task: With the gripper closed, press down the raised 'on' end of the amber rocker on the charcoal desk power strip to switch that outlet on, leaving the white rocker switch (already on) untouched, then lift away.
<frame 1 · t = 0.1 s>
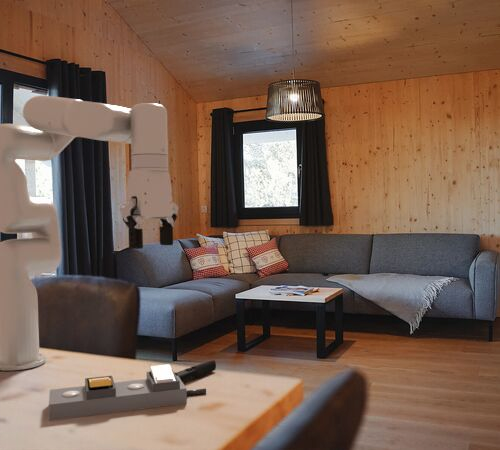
hand: (151, 246, 118), 31 cm above the table, tool pointing down, fingers open, 9 cm apart
electric trimmer: (190, 381, 129), on the table
amber rocker: (99, 381, 112), point 5 cm above the table, hinge at -12.0°
white rocker switch: (162, 374, 116), point 5 cm above the table, hinge at 12.0°
power strip: (118, 403, 113), on the table
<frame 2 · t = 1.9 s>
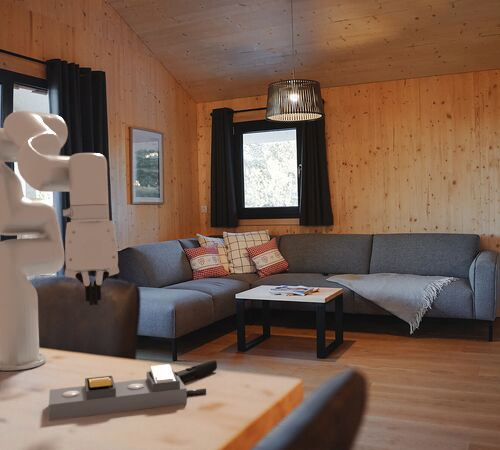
hand: (93, 304, 115), 20 cm above the table, tool pointing down, fingers closed
nothing on the table moved.
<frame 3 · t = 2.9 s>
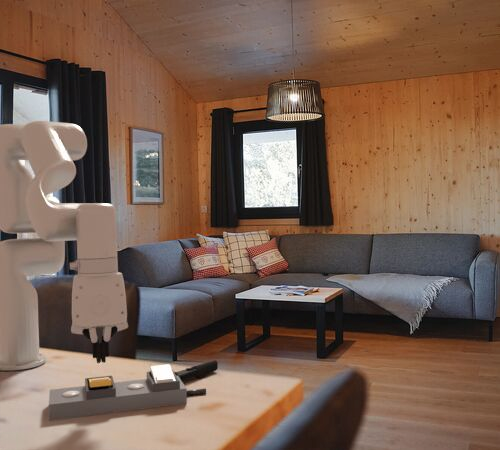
hand: (100, 360, 110), 10 cm above the table, tool pointing down, fingers closed
nothing on the table moved.
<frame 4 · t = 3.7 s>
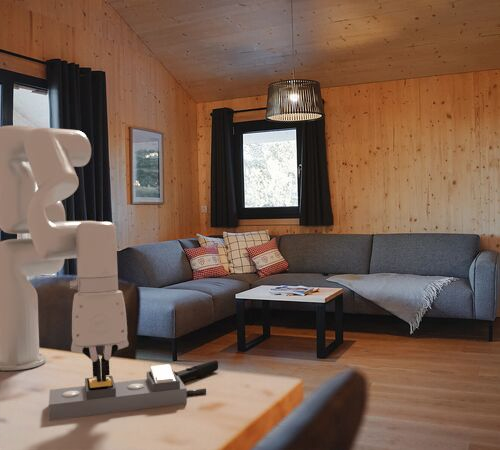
hand: (101, 379, 110), 6 cm above the table, tool pointing down, fingers closed
amber rocker: (99, 381, 112), point 5 cm above the table, hinge at -10.8°, touching gripper
everything else where it was.
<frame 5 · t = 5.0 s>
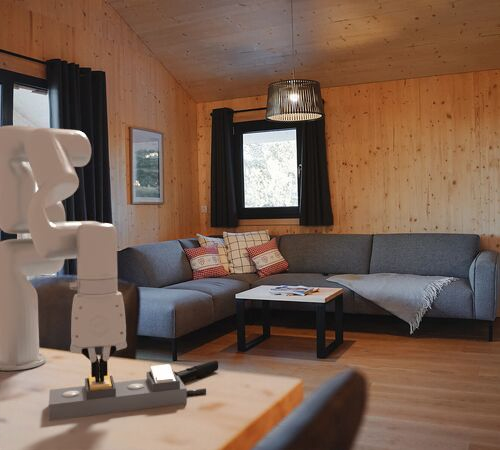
hand: (99, 379, 110), 6 cm above the table, tool pointing down, fingers closed
amber rocker: (99, 381, 112), point 5 cm above the table, hinge at 5.5°
everything else where it was.
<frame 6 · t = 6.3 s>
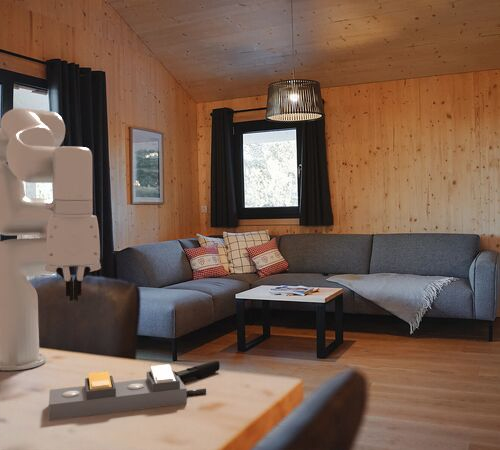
hand: (73, 299, 114), 21 cm above the table, tool pointing down, fingers closed
amber rocker: (99, 381, 112), point 5 cm above the table, hinge at 8.8°
everything else where it was.
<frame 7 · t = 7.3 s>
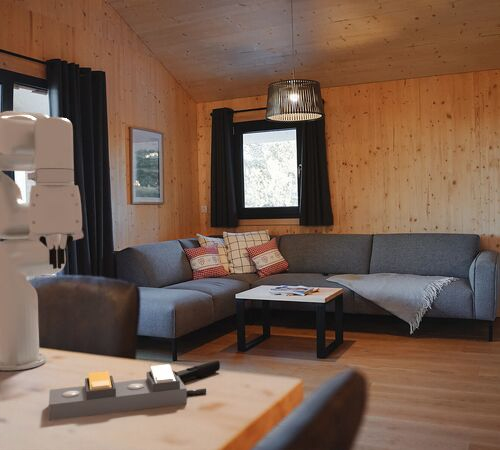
hand: (57, 267, 116), 27 cm above the table, tool pointing down, fingers closed
amber rocker: (99, 381, 112), point 5 cm above the table, hinge at 10.1°
everything else where it was.
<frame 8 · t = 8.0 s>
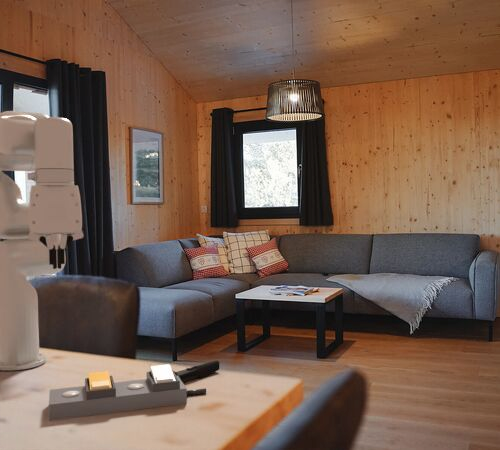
hand: (57, 267, 116), 27 cm above the table, tool pointing down, fingers closed
amber rocker: (99, 381, 112), point 5 cm above the table, hinge at 10.6°
everything else where it was.
at the end: amber rocker at +11° (first picture: -12°); white rocker switch at +12° (first picture: +12°) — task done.
